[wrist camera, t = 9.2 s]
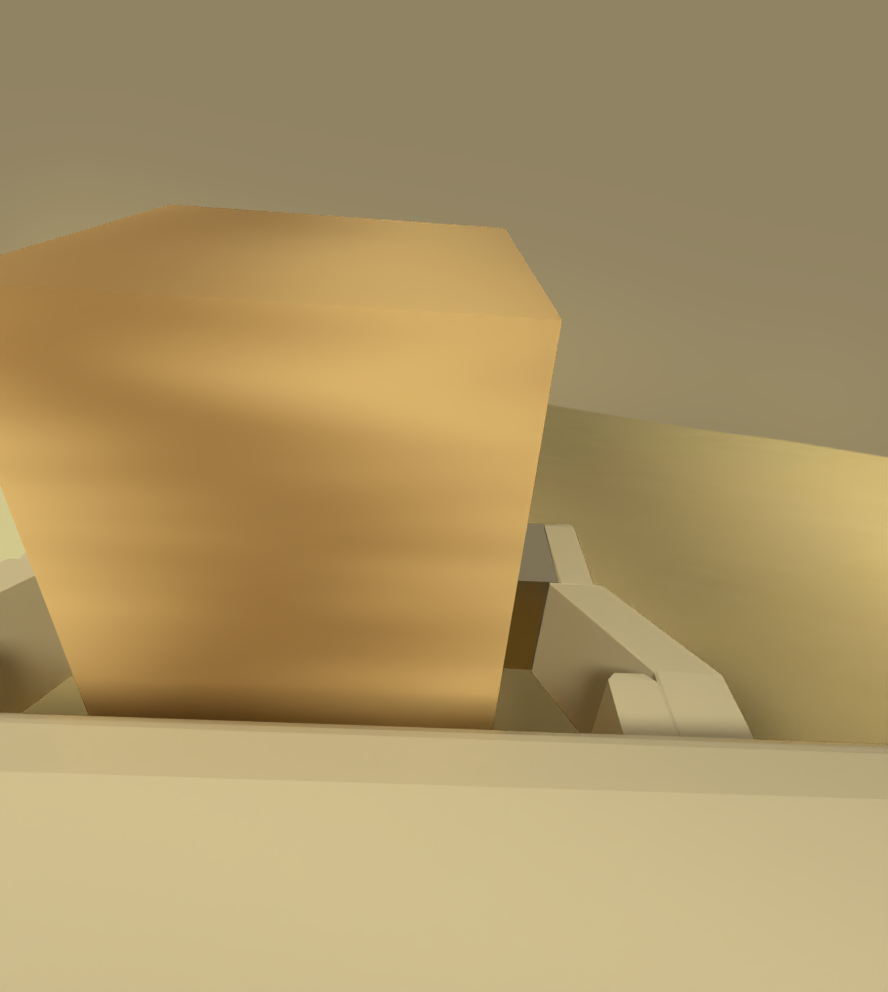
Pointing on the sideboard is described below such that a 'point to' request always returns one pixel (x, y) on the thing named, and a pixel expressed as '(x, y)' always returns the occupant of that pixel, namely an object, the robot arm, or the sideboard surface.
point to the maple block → (276, 460)
